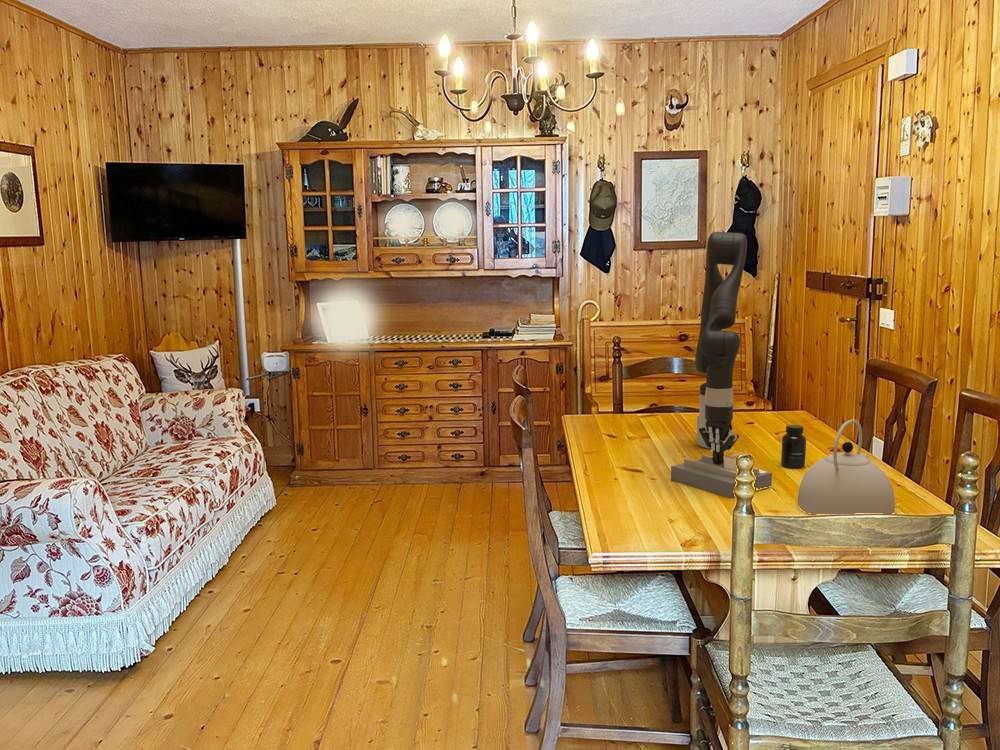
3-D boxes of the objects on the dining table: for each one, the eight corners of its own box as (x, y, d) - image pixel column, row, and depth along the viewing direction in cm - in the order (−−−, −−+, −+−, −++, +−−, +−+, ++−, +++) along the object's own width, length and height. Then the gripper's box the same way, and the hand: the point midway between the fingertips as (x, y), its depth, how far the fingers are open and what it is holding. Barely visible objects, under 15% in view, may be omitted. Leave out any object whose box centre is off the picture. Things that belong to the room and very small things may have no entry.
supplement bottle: (795, 470, 251) (796, 429, 249) (776, 465, 256) (777, 425, 254) (810, 466, 254) (811, 426, 252) (791, 461, 260) (792, 422, 258)
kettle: (820, 488, 234) (823, 406, 230) (910, 503, 219) (914, 416, 215) (782, 511, 215) (785, 423, 212) (877, 530, 200) (881, 435, 197)
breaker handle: (724, 472, 235) (724, 454, 234) (736, 469, 238) (736, 451, 237) (732, 475, 233) (732, 456, 232) (745, 472, 235) (745, 453, 234)
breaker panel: (671, 479, 245) (671, 460, 244) (710, 469, 253) (710, 451, 252) (731, 498, 227) (731, 477, 226) (771, 487, 235) (772, 467, 234)
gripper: (691, 401, 241) (690, 461, 244) (728, 408, 230) (727, 471, 233) (710, 397, 245) (709, 456, 248) (747, 404, 234) (746, 466, 237)
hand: (718, 463), depth 240 cm, fingers closed
